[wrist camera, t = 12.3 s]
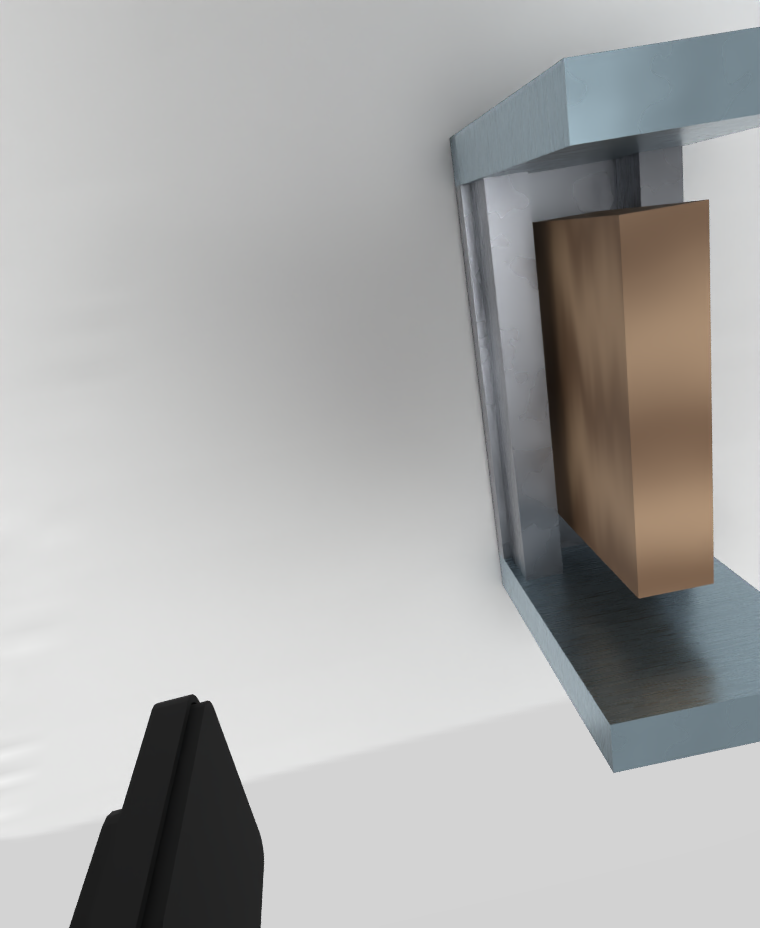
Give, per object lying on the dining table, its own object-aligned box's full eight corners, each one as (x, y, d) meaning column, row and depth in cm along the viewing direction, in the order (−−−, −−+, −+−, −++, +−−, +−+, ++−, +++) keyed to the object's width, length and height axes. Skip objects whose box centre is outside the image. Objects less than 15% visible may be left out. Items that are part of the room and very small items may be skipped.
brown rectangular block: (531, 222, 31) (619, 214, 23) (597, 211, 31) (708, 199, 23) (557, 512, 35) (638, 598, 27) (614, 501, 36) (713, 583, 27)
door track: (449, 137, 31) (564, 58, 17) (648, 105, 31) (908, 3, 18) (502, 585, 37) (613, 772, 24) (665, 552, 38) (861, 719, 25)
